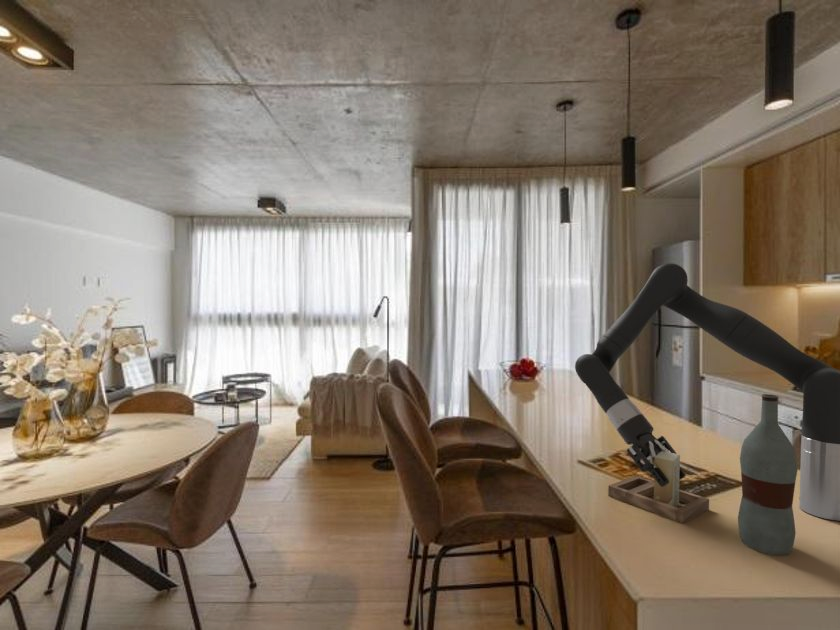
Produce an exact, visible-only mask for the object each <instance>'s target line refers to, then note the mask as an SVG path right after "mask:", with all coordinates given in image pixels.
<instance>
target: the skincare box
mask: <svg viewBox="0 0 840 630" xmlns="http://www.w3.org/2000/svg"><path fill="white" fill-rule="evenodd" d="M655 463H656V464H657V466H658V467H657V468H660V470H661V471H662V472H663V474H664V475H665V476H666V478H667V479H668V480H669V483H668V484H667V485H665V486H663V487H661V486H660V485H659V483H658V482H657V481H656V480H655V478H654V477H653V481H654V496H653V499H654V500H657V501H659V502H662V503H665V504H668V505H671V506H674V507H677V508H678V506H679V504H680V502H679V489H680V480H679V475H680V467H681V465H680V464H681V455H680V454H679V453H677V454H675V453H671V452H670V451H669V452H664V451H661V452H659V453H658V454H657V455H656V456H655Z"/></svg>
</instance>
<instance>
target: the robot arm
mask: <svg viewBox="0 0 840 630" xmlns="http://www.w3.org/2000/svg"><path fill="white" fill-rule="evenodd" d="M662 306H664V307H665V308H667V309H670V310H671V311H673V312H674V313H677V314H679V315H681V316H683V317H684V318H686V319H687V320H689V321H690V322H692V323H693V324H695V325H696V326H697V327H698V328H700V329H701V330H703V331H704V332H706V333H707V334H709V335H711V336H712V337H713V338H715V339H716V340H717V341H719V342H720V343H722V344H723V345H725V346H726V347H728V349H731V350H732V351H733V352H736V353H737V354H738V355H740V356H742V357H743V358H744V357H745V358H746V359H748V360H749V361H751V362H754V363H756V364H758V365H759V366H762V367H765V368H766V369H769V370H772V371H773V372H775V373H776V374H778V375H779V376H781V377H782V378H784V379H785V380H787V381H788V382H789V383H790V384H792V385H793V386H794V387H796V388H797V389H798V390H799V391H801V392H802V393H803V395H802V398H803V399H802V401H803V402H802V419H801V420H802V421H801V439H800V440H801V445H800V469H799V471H800V472H799V474H800V475H799V496H798V497H799V498H798V499H799V502H798V503H799V504H798V506H799V507H798V508H799V509H800V510H802V511H804V512H805V513H807V514H809V515H812V516H815V517H817V518H818V517H819V518H822V519H826V520H831V521H839V522H840V370H839V369H837V368H834V367H832V366H831V365H828V364H826V363H825V362H822V361H820V360H818V359H816V358H814V357H812V356H810V355H809V354H807V353H805V352H804V351H801V350H800V349H798V348H797V347H795V346H794V345H793V344H792V343H790V342H789V341H788V340H787V339H785V338H784V337H783V336H781V335H780V334H779V333H777V332H776V331H774V330H773V329H771V328H770V327H769V326H767V324H766V325H765V324H764V323H762V322H761V321H760V320H758V319H757V318H755V317H753V316H752V315H750V314H748V313H747V312H744V311H743V310H741V309H738V308H736V307H733V306H731V305H727V304H723V303H720V302H717V301H713V300H711V299H709V298H706V297H705V296H704V295H701V294H700V293H698V292H697V291H695V290H694V289H693V288H691V287H690V286H689V285H688V274H687V271H686V270H685V269H684V267H682V265H681V266H680V265H679V264H677V263H673V262H672V263H664V264H661V265H658V266H657V267H656V268H655V269H654V270H653V271H652V273H651V274H650V276H649V277H648V280H647V281H646V283H645V284H644V286H643V288H642V289H641V290H640V292H639V293H638V294H637V296H636V297H635V298H634V300H633V301H632V302H631V303H630V305H629V306H628V307H627V308H626V309H625V310H624V311H623V313H622V314H621V315H620V316H619V317H618V318H617V320H615V321H614V323H613V324H612V325H611V326H610V327H609V328H608V329H606V331H605V333H603V335H602V336H601V337H600V338H599V339H598V340H597V343H596V348H595V349H594V351H593V352H592V354H591V353H590V354H589V353H585V354H581V355H580V356H579V357H578V358H577V359H576V361H575V365H574V370H575V373H576V375H577V376H578V378H579V379H580V381H581V382H582V383H583V384H585V386H586V387H587V388H588V390H589V391H590V392H591V393H592V395H593V396H594V398H595V400H596V402H597V404H598V405H599V406H600V408H601V409H602V410H603V412H604V413H605V414H606V416H607V418H608V420H609V421H610V423H611V425H613V427H614V428H615V430H616V431H617V433H618V434H619V436H620V437H621V438H622V439H623V440H624V442H625V444H626V445H628V446H629V447H628V448H627V449H626V452H627V453H628V454H629V456H630V458H631V459H632V460H633V461H634V463H635V464H636V465H637V466H638V468H639V469H640V471H641V472H643V473H644V472H647V473H650V474H651V476H652V477H653V479H654V478H655V480H656V481H657V482H658V483H659V485H660V486H661V487H663V486H665V485H667V484H668V483H669V480H668V479H667V478H666V476H665V475H664V474H663V472H662V471H661V470H660V468H657V467H658V466H657V464H656V463H655V456H656V455H657V454H658V453H659V452H661V451H664V452H670V453H675V454H678V453H677V452H676V451H675V450H674V448H673V447H672V445H671V444H670V443H669V442H668V440H667V439H666V437H665V436H663V435H661V436H660V437H658V438H657V437H655V435H653V432H654V430H655V429H654V426H653V425H652V424H651V423H650V422H649V420H648V419H647V418H646V416H645V415H644V414H643V412H642V411H641V410H640V409H639V407H638V406H637V405H636V404H635V403H634V402H633V401H632V400H631V399H630V398H629V396H628V395H627V394H626V392H625V391H624V390H623V388H622V387H620V385H619V384H618V383H617V382H616V381H615V380H614V378H613V377H612V374H611V371H612V369H613V368H614V366H615V365H616V363H617V362H618V360H619V359H620V357H621V356H623V355H624V353H625V352H626V351H627V350H628V349H629V348H630V347H631V346H632V344H633V343H634V342H635V341H636V339H637V338H638V337H639V336H640V335H641V333H642V332H643V330H644V329H645V327H646V326H647V324H648V323H649V321H650V320H651V319H652V317H653V316H654V315H655V314H656V313H657V311H658V310H660V309H661V307H662ZM686 475H687V474H686V473H685V471H684V470H683V469H682V467H681V466H680V475H679V481H680V480H682V479H684V478H685V477H687V476H686Z"/></svg>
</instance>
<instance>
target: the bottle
mask: <svg viewBox="0 0 840 630" xmlns="http://www.w3.org/2000/svg"><path fill="white" fill-rule="evenodd" d="M779 398H780V397H779V396H778V395H775V394H771V393H770V394H769V393H766V394H765V393H762V395H761V407H760V408H761V409H760V411H761V412H760V421H759V422H758V423H757V424H756V425H755V427H754V428H753V429H752V431H750V432H749V434H748V435H747V436H746V437H745V438H744V439H743V441H742V445H741V448H740V455H739V461H740V462H739V464H740V473H741V492H742V493H741V494H742V496H741V500H740V505H739V508H738V509H739V510H738V515H737V523H738V524H737V525H738V531H739V532H738V533H739V537H740V540H741V542H742V543H743V544H744V545H746V546H747V547H748V548H750V549H753V550H755V551H758V552H760V553H764V554H766V555H767V554H769V555H773V556H787V555H789V554H790V553H791V552H792V550H793V547H794V544H795V539H796V538H795V537H796V533H797V532H796V525H795V516H794V510H793V502H794V497H795V496H794V495H795V488H796V487H795V486H796V482H797V481H796V480H797V479H796V478H797V474H798V470H799V467H798V458H797V453H796V450H795V447H794V445H793V444H792V442H791V441H790V439H789V438H788V437H787V435H786V433H785V432H784V430H783V429H782V427H781V426H780V424H779V423H778V422H779V421H778V420H779V419H778V418H779Z"/></svg>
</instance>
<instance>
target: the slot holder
mask: <svg viewBox="0 0 840 630" xmlns="http://www.w3.org/2000/svg"><path fill="white" fill-rule="evenodd" d="M607 487H608V490H607V492H608V493H607V494H608V495H607V496H608V497H610V498H614V499H616V500H619V501H621V502H625V503H627V504H629V505H632V506H635V507H638V508H640V509H643V510H646V511H647V512H651V513H654V514H656V515H660V516H662V517H664V518H667V519H671V520H673V521H674V522H678V523H681V524H685V523H686V522H688V521H690V520H692V519H693V518H696V517H697V516H700V515H701V514H703V513H705V512H707V511H709V509H710V499H709V498H708V497H704V496H701V495H698V494H694V493H692V492H689V491H686V490H684V489H683V490H682V489H680V488H679V503H682V504H685V505H682V506H680V507H679V508H678V506H677V507H674V506H671V505H668V504H665V503H662V502H659V501H657V500H654V498H652V497H654V480H651V479H648V478H644V477H641V476H638V475H634V476H631V477H628V478H625V479H623V480H620V481H618V482H615V483H612V484H609V485H608V486H607Z"/></svg>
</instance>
